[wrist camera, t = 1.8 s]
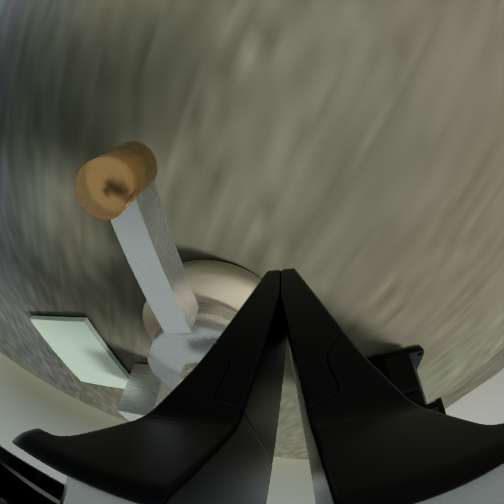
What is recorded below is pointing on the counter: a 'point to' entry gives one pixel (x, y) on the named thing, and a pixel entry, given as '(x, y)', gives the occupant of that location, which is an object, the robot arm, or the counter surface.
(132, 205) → the crank handle
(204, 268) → the base
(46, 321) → the mat
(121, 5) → the counter surface
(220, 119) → the counter surface
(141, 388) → the grey rectangular block
